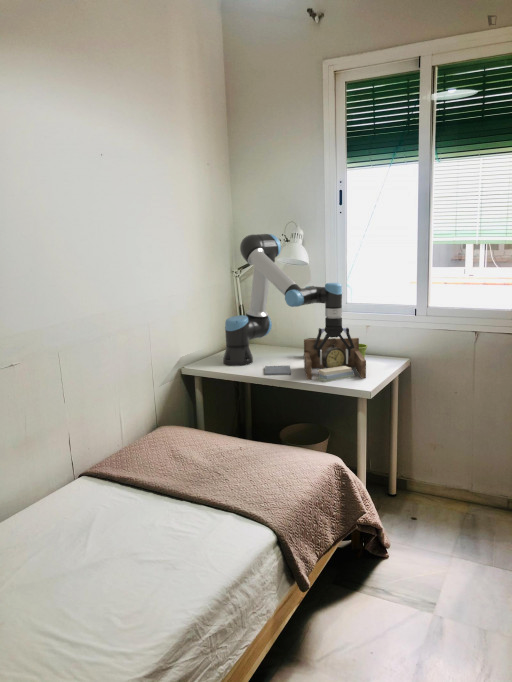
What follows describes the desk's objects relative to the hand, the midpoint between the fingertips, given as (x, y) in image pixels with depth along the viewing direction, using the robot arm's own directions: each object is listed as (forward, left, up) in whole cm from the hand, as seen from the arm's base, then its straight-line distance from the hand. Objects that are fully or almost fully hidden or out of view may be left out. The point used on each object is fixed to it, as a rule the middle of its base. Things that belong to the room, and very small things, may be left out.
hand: (333, 363), depth 245 cm
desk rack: (0, 0, -4) cm, 4 cm away
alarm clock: (0, 0, -4) cm, 4 cm away
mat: (-26, +5, -4) cm, 27 cm away
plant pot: (+14, +18, -4) cm, 23 cm away
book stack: (0, -9, -5) cm, 10 cm away
